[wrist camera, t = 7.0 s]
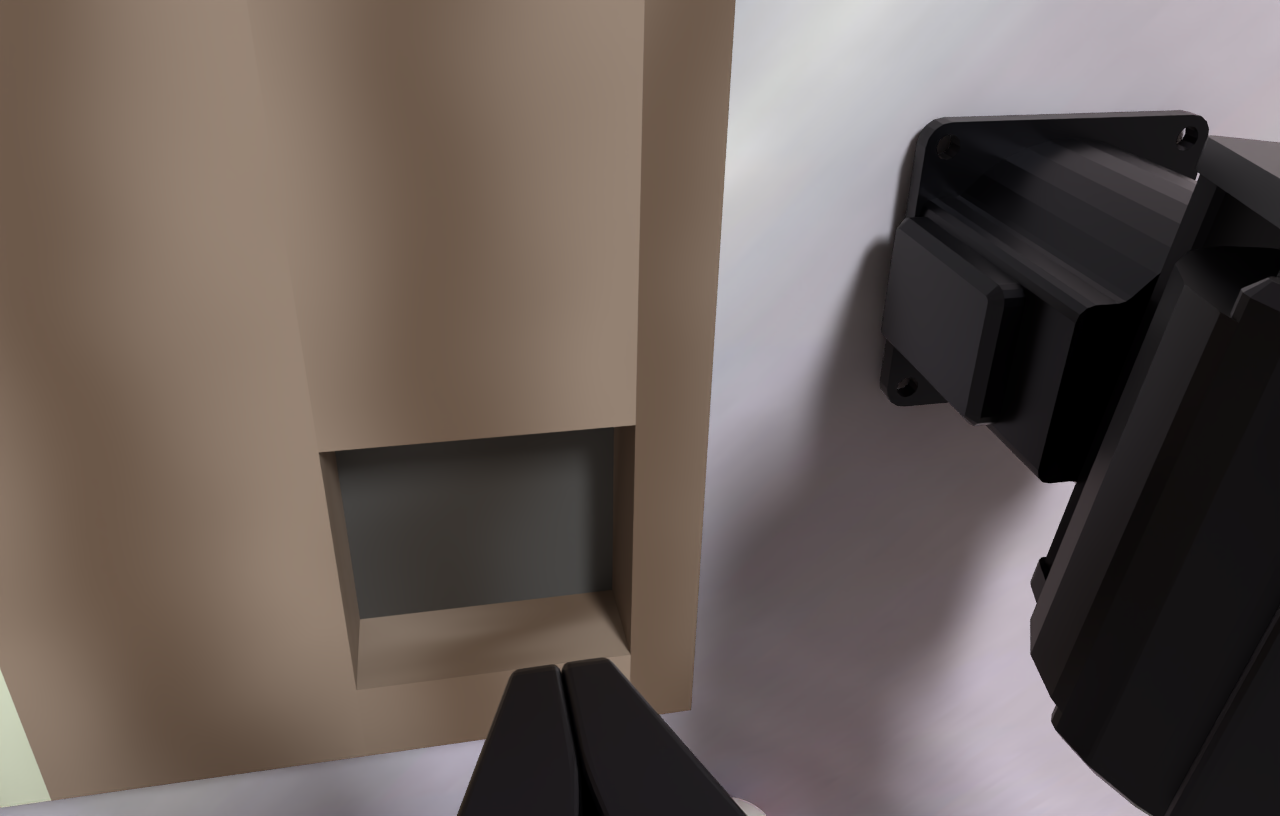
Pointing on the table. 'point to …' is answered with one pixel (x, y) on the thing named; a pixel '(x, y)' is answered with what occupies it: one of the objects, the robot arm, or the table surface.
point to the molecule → (749, 808)
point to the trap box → (345, 370)
